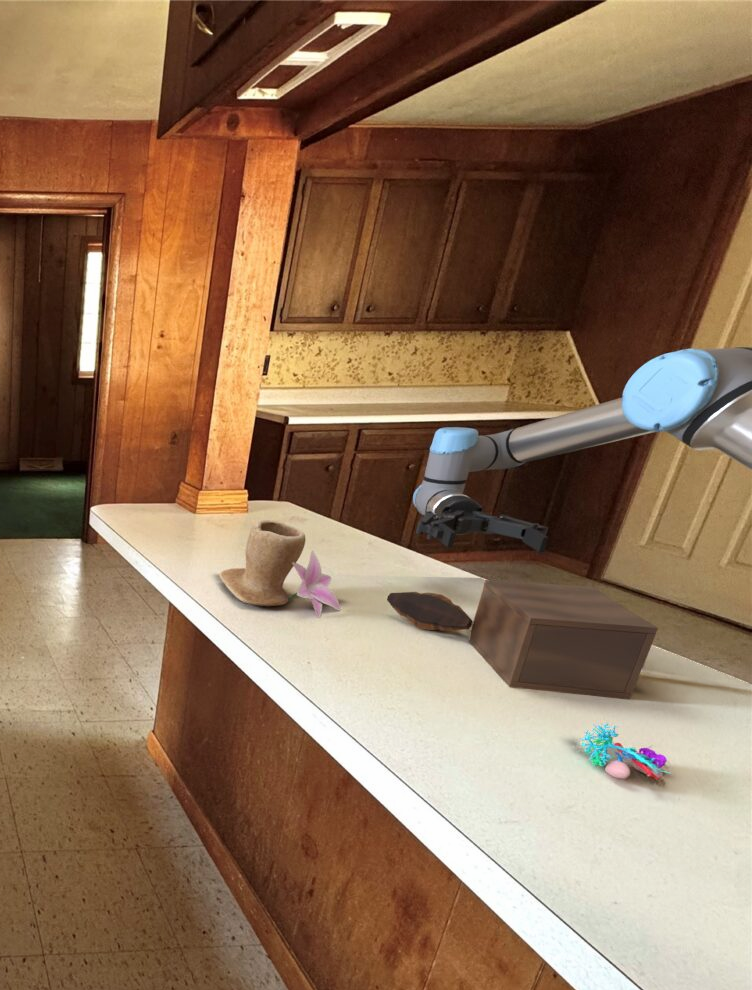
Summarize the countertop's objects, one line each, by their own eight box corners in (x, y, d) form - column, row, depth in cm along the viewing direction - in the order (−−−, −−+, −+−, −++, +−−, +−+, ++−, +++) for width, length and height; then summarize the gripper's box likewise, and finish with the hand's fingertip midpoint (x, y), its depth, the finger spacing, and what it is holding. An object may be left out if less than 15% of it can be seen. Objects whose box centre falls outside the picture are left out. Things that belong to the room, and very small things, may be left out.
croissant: (396, 577, 117) (407, 586, 120) (375, 610, 118) (386, 619, 121) (481, 603, 106) (490, 613, 109) (457, 640, 107) (467, 649, 110)
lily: (280, 624, 120) (316, 587, 114) (254, 580, 128) (286, 543, 122) (331, 635, 123) (369, 600, 117) (303, 592, 132) (336, 556, 125)
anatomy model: (708, 764, 70) (666, 723, 76) (615, 754, 72) (581, 716, 78) (686, 799, 72) (647, 757, 78) (597, 789, 75) (565, 749, 80)
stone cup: (304, 611, 122) (317, 533, 117) (237, 610, 124) (247, 533, 118) (277, 583, 136) (287, 512, 131) (217, 582, 138) (225, 512, 132)
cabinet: (468, 641, 109) (485, 579, 105) (571, 650, 104) (593, 586, 100) (509, 686, 95) (530, 617, 91) (630, 699, 90) (658, 627, 87)
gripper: (522, 534, 133) (577, 567, 114) (381, 527, 140) (410, 557, 122) (533, 497, 130) (591, 525, 111) (388, 492, 138) (419, 518, 119)
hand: (497, 542), depth 117 cm, fingers open, 13 cm apart
